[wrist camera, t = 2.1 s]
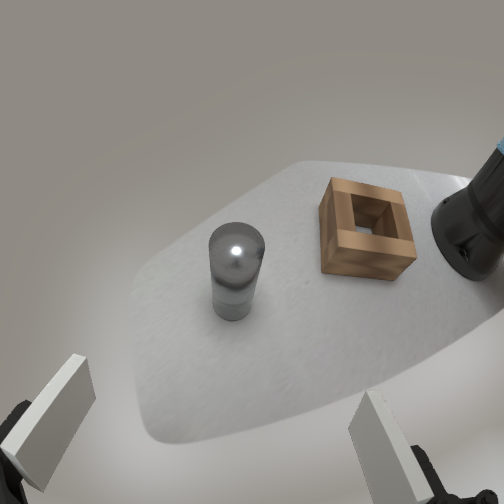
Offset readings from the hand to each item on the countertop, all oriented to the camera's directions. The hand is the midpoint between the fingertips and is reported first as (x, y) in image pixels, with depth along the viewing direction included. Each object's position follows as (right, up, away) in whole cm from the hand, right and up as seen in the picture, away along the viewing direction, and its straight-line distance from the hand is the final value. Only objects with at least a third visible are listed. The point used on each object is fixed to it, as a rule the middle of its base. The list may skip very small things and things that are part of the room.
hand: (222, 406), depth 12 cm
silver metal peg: (-1, +1, +20) cm, 20 cm away
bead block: (+15, +8, +25) cm, 30 cm away
